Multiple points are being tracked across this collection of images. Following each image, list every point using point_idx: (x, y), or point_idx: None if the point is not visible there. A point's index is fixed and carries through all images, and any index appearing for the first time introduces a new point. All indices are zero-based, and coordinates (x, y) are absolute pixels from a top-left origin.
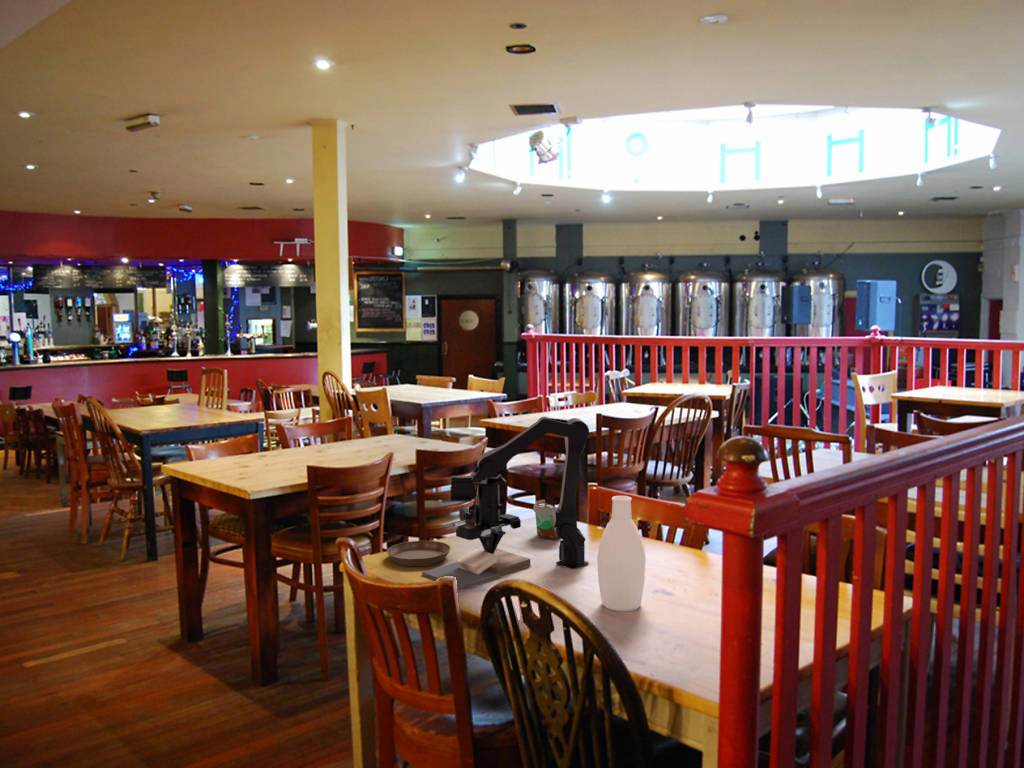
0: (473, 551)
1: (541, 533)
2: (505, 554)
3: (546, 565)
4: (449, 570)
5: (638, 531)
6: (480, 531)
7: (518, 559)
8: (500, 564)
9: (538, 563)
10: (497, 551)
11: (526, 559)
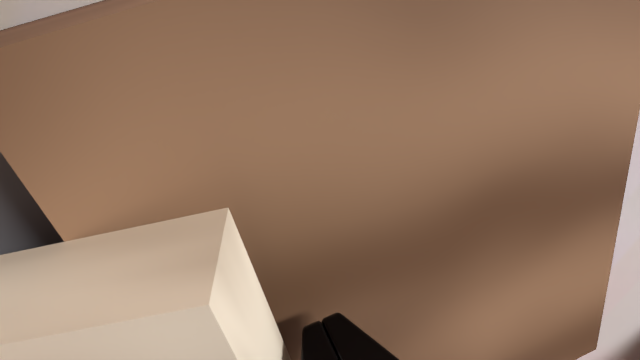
0: (120, 355)
1: None
2: (561, 188)
3: (619, 313)
4: None
5: None
6: None
7: (533, 345)
8: None
9: (623, 269)
10: (587, 35)
11: (570, 356)
